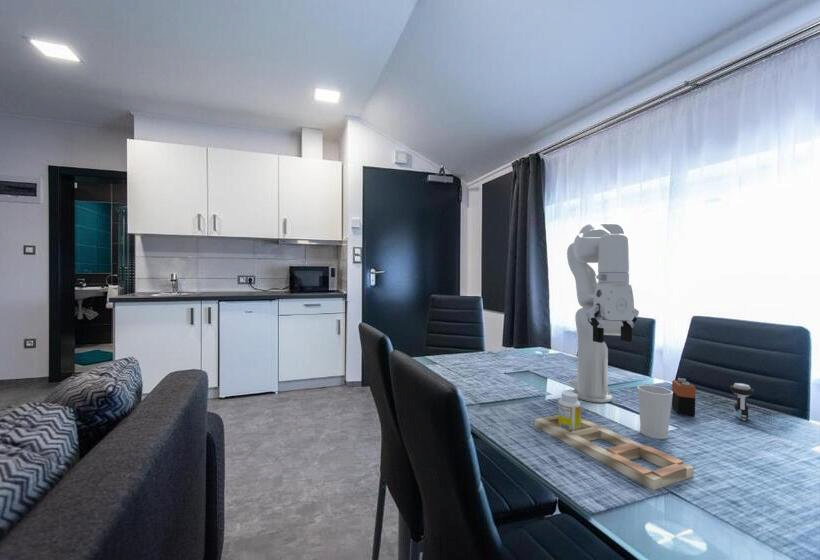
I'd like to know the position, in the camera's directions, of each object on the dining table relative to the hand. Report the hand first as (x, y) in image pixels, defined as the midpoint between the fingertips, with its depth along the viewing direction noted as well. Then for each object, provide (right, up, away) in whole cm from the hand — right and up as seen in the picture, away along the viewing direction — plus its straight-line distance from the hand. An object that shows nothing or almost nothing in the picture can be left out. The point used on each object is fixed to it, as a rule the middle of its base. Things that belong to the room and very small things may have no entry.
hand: (612, 341), depth 100 cm
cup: (+10, -25, -2) cm, 27 cm away
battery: (+30, -25, +14) cm, 42 cm away
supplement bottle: (-12, -25, -1) cm, 27 cm away
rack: (-8, -25, -10) cm, 28 cm away
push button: (+44, -25, +10) cm, 52 cm away
